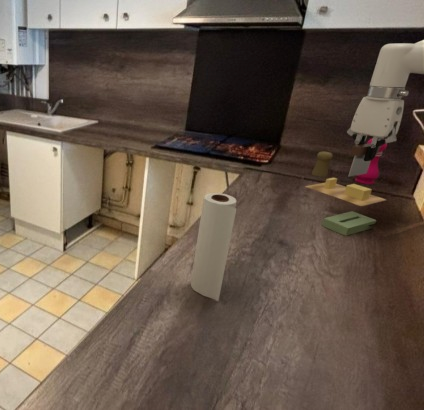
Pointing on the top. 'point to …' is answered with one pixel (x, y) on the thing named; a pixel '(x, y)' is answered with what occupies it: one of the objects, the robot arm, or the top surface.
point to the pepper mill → (371, 168)
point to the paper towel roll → (213, 244)
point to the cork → (322, 164)
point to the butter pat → (330, 183)
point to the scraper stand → (348, 223)
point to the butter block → (357, 192)
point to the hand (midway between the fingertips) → (362, 158)
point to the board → (339, 193)
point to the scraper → (359, 160)
